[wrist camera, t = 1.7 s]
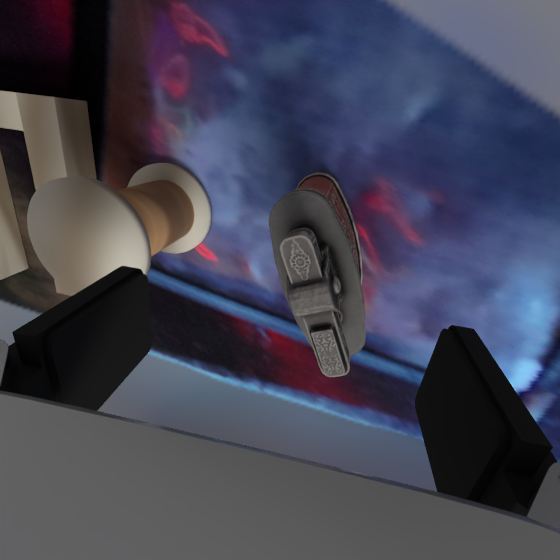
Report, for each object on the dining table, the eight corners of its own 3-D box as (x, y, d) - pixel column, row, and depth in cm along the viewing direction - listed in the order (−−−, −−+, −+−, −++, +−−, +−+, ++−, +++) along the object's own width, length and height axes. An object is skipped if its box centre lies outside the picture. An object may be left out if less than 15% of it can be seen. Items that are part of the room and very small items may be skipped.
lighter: (286, 181, 20) (232, 219, 11) (340, 163, 19) (328, 190, 10) (322, 295, 23) (301, 401, 14) (371, 285, 22) (383, 392, 13)
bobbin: (213, 169, 21) (138, 188, 14) (211, 257, 23) (147, 312, 16) (126, 156, 21) (14, 168, 14) (134, 242, 24) (41, 289, 17)
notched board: (86, 101, 21) (54, 97, 18) (109, 285, 26) (87, 299, 24) (-47, 84, 22) (-92, 79, 20) (2, 262, 27) (-29, 274, 25)
